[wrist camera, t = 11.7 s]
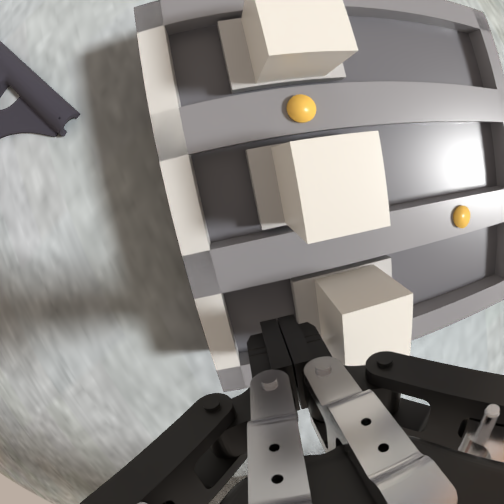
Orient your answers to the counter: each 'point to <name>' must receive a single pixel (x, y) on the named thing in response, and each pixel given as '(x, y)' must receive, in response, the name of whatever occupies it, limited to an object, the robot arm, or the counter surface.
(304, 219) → the switch middle
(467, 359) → the counter surface
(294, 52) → the switch front
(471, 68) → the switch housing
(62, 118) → the bracket
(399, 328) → the switch back
